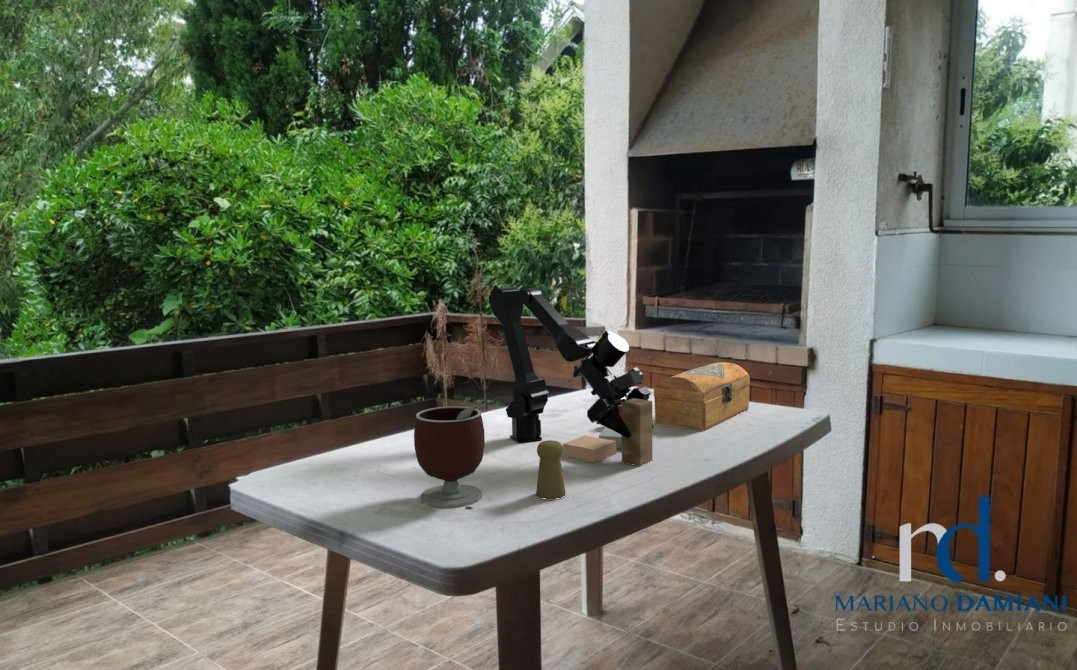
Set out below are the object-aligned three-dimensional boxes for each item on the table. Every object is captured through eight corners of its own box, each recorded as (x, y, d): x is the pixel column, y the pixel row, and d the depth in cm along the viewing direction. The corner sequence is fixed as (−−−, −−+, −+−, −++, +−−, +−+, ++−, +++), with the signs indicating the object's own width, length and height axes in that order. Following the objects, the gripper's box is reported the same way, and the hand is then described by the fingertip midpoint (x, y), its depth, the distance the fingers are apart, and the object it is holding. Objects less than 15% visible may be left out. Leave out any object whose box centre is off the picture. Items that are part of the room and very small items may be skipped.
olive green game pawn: (531, 492, 159) (530, 439, 157) (559, 488, 161) (558, 436, 159) (542, 501, 153) (541, 447, 152) (570, 497, 155) (569, 443, 154)
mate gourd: (402, 497, 157) (398, 399, 154) (457, 481, 167) (453, 389, 164) (450, 516, 146) (447, 411, 143) (506, 498, 156) (503, 399, 153)
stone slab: (598, 447, 190) (598, 435, 190) (605, 438, 199) (605, 426, 199) (635, 449, 188) (635, 437, 188) (640, 440, 197) (640, 428, 196)
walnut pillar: (621, 462, 178) (621, 402, 176) (633, 457, 182) (633, 398, 180) (640, 466, 175) (640, 404, 173) (652, 461, 179) (652, 401, 177)
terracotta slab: (562, 455, 184) (562, 443, 184) (585, 447, 191) (585, 435, 191) (594, 462, 179) (593, 449, 178) (616, 453, 185) (616, 441, 185)
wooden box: (707, 432, 204) (707, 380, 202) (652, 424, 214) (652, 374, 212) (754, 411, 227) (755, 363, 225) (702, 404, 237) (703, 359, 235)
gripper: (597, 363, 171) (640, 419, 165) (643, 352, 185) (684, 403, 179) (569, 394, 177) (609, 449, 171) (616, 381, 191) (655, 432, 186)
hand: (641, 432), depth 177 cm, fingers open, 9 cm apart
